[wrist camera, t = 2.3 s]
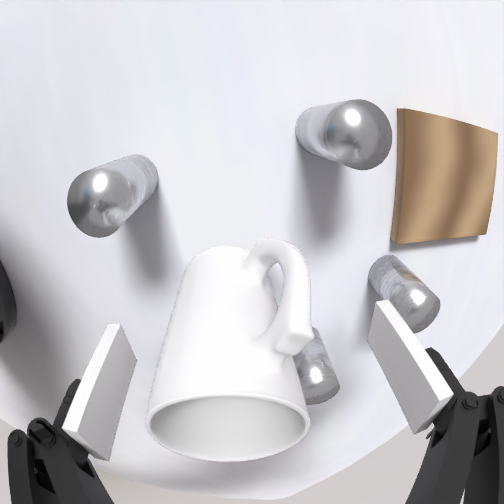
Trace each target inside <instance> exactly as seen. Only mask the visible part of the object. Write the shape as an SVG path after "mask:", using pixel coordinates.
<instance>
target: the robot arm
mask: <svg viewBox="0 0 504 504" xmlns="http://www.w3.org/2000/svg"><path fill="white" fill-rule="evenodd" d="M15 323H16V306H15V301H14V297H13V293H12V290H11V287H10V284H9V281H8V279H7V276H6V274H5V271H4V269H3V267H2V265H1V263H0V343H2V342H3V341H4V340H5V339H6V337H7V336H8V335H9V333H10V332H11V331H12V329H13V328H14V326H15ZM367 342H368V344H369V346H370V347H371V349H372V351H373V353H374V355H375V357H376V359H377V361H378V363H379V364H380V366H381V368H382V370H383V372H384V374H385V376H386V378H387V380H388V382H389V384H390V386H391V388H392V390H393V392H394V394H395V396H396V398H397V400H398V402H399V404H400V406H401V409H402V411H403V413H404V415H405V417H406V419H407V421H408V424H409V426H410V428H411V430H412V432H413V434H416V433H419V432H421V431H423V430H425V429H427V428H428V427H429V426H430V425H431V423H432V422H433V424H434V426H435V427H434V428H433V430H432V431H431V432H430V433H429V434H428V435H427V437H426V439H428V438H429V437H430V436H431V438H430V441H429V445H428V448H427V451H426V454H425V457H424V459H423V462H422V465H421V468H420V471H419V473H418V476H417V478H416V481H415V483H414V485H413V488H412V490H411V492H410V495H409V497H408V499H407V501H406V503H405V504H460V501H461V498H462V495H463V492H464V489H465V494H464V502H463V504H504V387H502V386H499V387H497V388H496V389H495V390H494V391H493V392H492V394H490V395H484V396H477V395H476V394H474V393H472V392H466V391H465V390H464V389H463V388H462V386H461V385H460V383H459V381H458V380H457V378H456V377H455V375H454V374H453V372H452V371H451V369H449V367H448V365H447V364H446V362H444V359H443V358H442V356H441V355H440V354H439V353H438V352H437V351H436V350H434V349H433V348H431V347H430V348H427V349H424V348H423V346H422V345H421V343H420V342H419V341H418V339H417V338H416V336H415V335H414V334H413V332H412V331H411V329H410V328H409V327H408V325H407V324H406V323H405V321H404V320H403V318H402V317H401V316H400V314H399V313H398V312H397V310H396V309H395V308H394V306H393V305H392V304H391V303H390V301H389V300H382V301H377V302H376V303H375V308H374V312H373V317H372V321H371V325H370V329H369V333H368V337H367ZM136 362H137V359H136V357H135V355H134V353H133V351H132V348H131V346H130V344H129V342H128V340H127V337H126V335H125V333H124V330H123V328H122V326H121V324H108V326H107V328H106V330H105V332H104V334H103V336H102V338H101V340H100V342H99V344H98V346H97V348H96V350H95V352H94V354H93V356H92V358H91V360H90V362H89V365H88V367H87V369H86V371H85V373H84V376H83V378H82V380H80V379H75V381H74V382H73V383H72V384H71V385H70V386H69V388H68V390H67V392H66V396H65V397H64V399H63V403H62V404H61V406H60V409H59V411H58V414H57V416H56V418H55V421H54V424H53V426H52V425H51V424H50V423H49V422H48V421H47V420H45V419H44V418H40V417H39V418H35V419H34V420H32V421H31V422H30V424H29V425H28V428H27V435H26V434H25V433H24V432H23V431H22V430H19V429H16V430H14V431H12V432H11V433H10V435H9V437H8V474H9V486H10V494H11V501H12V504H114V503H113V501H112V499H111V498H110V496H109V494H108V493H107V491H106V490H105V488H104V486H103V484H102V482H101V481H100V479H99V477H98V475H97V473H96V471H95V469H94V467H93V465H92V463H91V461H90V460H89V459H88V454H89V453H90V454H91V455H92V456H93V457H94V458H97V459H101V460H105V461H109V460H110V455H111V451H112V447H113V443H114V439H115V435H116V431H117V427H118V423H119V419H120V416H121V412H122V409H123V405H124V401H125V398H126V395H127V391H128V388H129V385H130V381H131V378H132V375H133V372H134V369H135V365H136Z"/></svg>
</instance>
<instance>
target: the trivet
mask: <svg viewBox="0 0 504 504" xmlns="http://www.w3.org/2000/svg"><path fill="white" fill-rule="evenodd" d="M397 115H398V156H397V179H396V193H395V205H394V215H393V223H392V231H391V240H392V241H393V242H395V243H396V244H404V243H414V242H423V241H432V240H441V239H450V238H459V237H468V236H477V235H485V234H486V232H487V227H488V222H489V217H490V212H491V206H492V200H493V193H494V185H495V176H496V164H497V146H498V133H495V132H493V131H490V130H487V129H484V128H481V127H478V126H475V125H471V124H468V123H465V122H461V121H458V120H454V119H450V118H446V117H442V116H438V115H434V114H430V113H425V112H420V111H415V110H410V109H397Z"/></svg>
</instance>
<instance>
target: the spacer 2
mask: <svg viewBox="0 0 504 504" xmlns="http://www.w3.org/2000/svg"><path fill="white" fill-rule="evenodd" d="M312 330H313V333H314V339H313V340H312V341H311V342H310V343H309V344H308V345H306V346H305V347H304V348H303V349H302V350H301V351H300V352H299V353H298V354H297V355H295V356H292V357H293V360H294V363H295V367H296V370H297V373H298V377H299V380H300V384H301V387H302V391H303V395H304V398H305V402H306V404H308V405H313V404H319V403H322V402H325V401H327V400H329V399H331V398H332V397H333V396H335V395H336V394H337V392H338V391H339V388H340V386H339V383H338V380H337V378H336V375H335V372H334V370H333V367H332V365H331V362H330V359H329V357H328V354H327V352H326V349H325V347H324V344H323V342H322V339H321V337H320V334H319V332H318V330H317V329H315V328H313V327H312Z"/></svg>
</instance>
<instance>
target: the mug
mask: <svg viewBox="0 0 504 504" xmlns="http://www.w3.org/2000/svg"><path fill="white" fill-rule="evenodd" d="M277 262H278V263H279V264H280V266H281V268H282V271H283V276H284V285H283V292H282V297H281V301H280V304H279V308H278V306H277V303H276V299H275V296H274V292H273V289H272V286H271V283H270V280H269V277H268V274H267V272H268V271H269V269H270V268H271V267H272V266H273V265H274V264H275V263H277ZM313 339H314V333H313V330H312V326H311V284H310V275H309V270H308V266H307V263H306V261H305V258H304V256H303V255H302V253H301V252H300V251H299V250H298V249H297V248H296V247H295V246H293V245H292V244H290V243H288V242H285V241H281V240H275V239H270V238H261V239H259V240H258V241H257V243H256V244H255V246H254V248H253V249H252V251H251V252H248V251H246V250H244V249H241V248H238V247H234V246H217V247H213V248H209V249H207V250H205V251H203V252H201V253H199V254H198V255H197V256H195V257H194V258H193V259H192V260H191V262H190V263H189V264H188V266H187V268H186V270H185V272H184V275H183V278H182V281H181V284H180V287H179V290H178V293H177V296H176V300H175V303H174V307H173V310H172V314H171V317H170V321H169V324H168V328H167V331H166V335H165V339H164V342H163V346H162V350H161V354H160V357H159V361H158V365H157V369H156V373H155V377H154V381H153V385H152V390H151V394H150V399H149V405H148V411H147V417H146V421H145V424H146V429H147V431H148V433H149V434H150V435H151V437H152V438H153V439H154V440H155V441H156V442H158V443H159V444H160V445H162V446H164V447H165V448H167V449H169V450H171V451H173V452H175V453H178V454H181V455H184V456H187V457H190V458H194V459H199V460H205V461H214V462H241V461H250V460H256V459H261V458H265V457H269V456H272V455H275V454H278V453H280V452H283V451H285V450H287V449H289V448H291V447H292V446H294V445H296V444H297V443H298V442H300V441H301V440H302V439H303V438H304V437H305V436H306V434H307V433H308V431H309V429H310V425H311V421H310V417H309V415H308V411H307V407H306V402H305V398H304V395H303V391H302V387H301V384H300V380H299V377H298V373H297V370H296V367H295V363H294V360H293V357H292V356H295V355H297V354H298V353H299V352H300V351H301V350H302V349H303V348H304V347H305V346H306V345H308V344H309V343H310V342H311V341H312V340H313Z"/></svg>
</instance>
